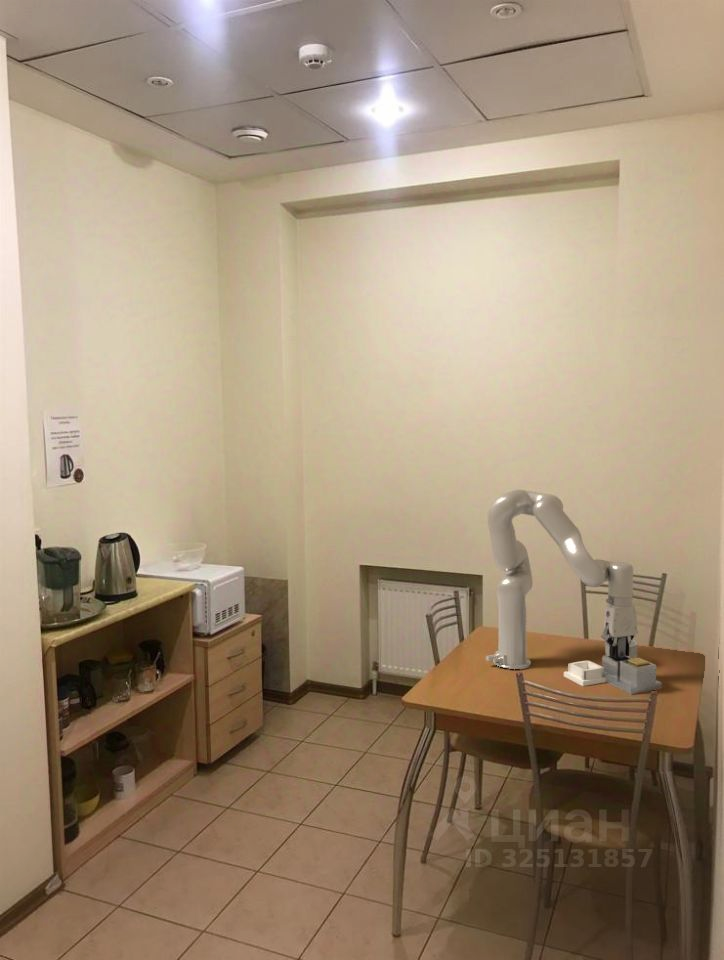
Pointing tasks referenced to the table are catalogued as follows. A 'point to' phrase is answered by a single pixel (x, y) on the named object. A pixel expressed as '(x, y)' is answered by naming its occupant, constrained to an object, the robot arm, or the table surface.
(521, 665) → the robot arm
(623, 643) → the blue-grey cylinder
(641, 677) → the block
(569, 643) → the table surface
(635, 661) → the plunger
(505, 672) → the table surface
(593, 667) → the white square socket
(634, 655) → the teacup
